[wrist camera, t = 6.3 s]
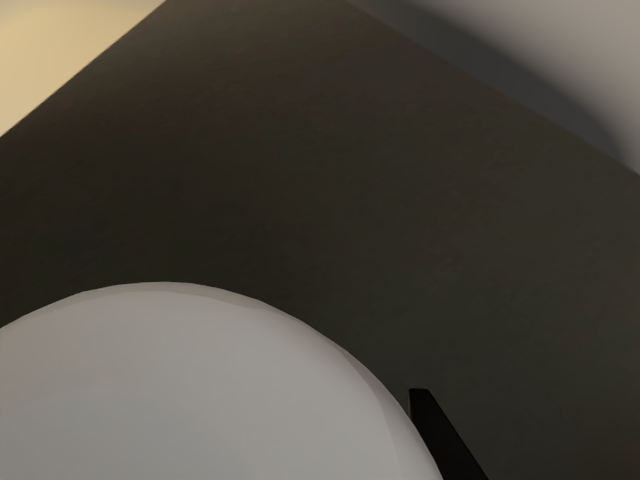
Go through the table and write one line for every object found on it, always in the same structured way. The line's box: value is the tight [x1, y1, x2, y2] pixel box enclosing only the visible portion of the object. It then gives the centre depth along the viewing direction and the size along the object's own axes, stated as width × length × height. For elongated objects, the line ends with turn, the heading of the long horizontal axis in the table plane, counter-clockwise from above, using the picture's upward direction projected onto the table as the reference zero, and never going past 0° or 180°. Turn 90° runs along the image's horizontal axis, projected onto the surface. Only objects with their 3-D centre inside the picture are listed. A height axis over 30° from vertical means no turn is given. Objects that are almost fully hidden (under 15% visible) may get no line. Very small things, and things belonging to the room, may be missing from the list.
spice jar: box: [0, 282, 443, 480], centre depth 8 cm, size 5×5×14 cm
